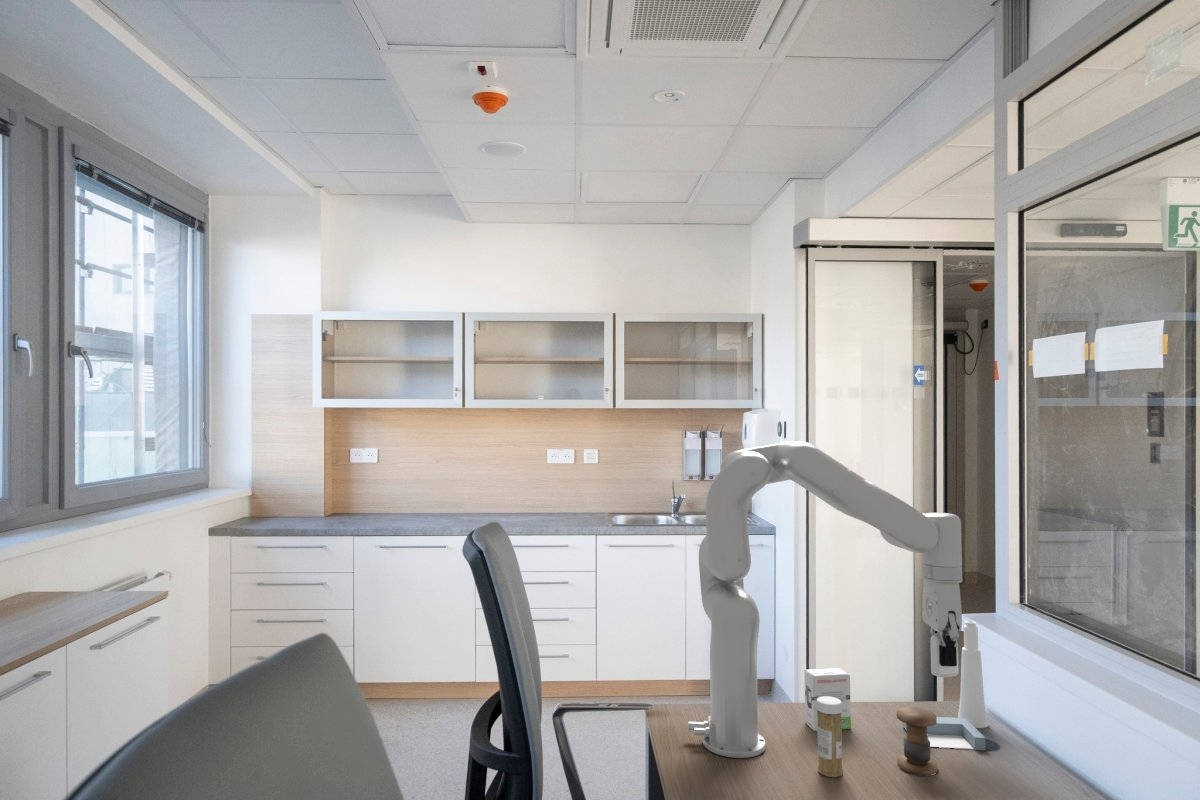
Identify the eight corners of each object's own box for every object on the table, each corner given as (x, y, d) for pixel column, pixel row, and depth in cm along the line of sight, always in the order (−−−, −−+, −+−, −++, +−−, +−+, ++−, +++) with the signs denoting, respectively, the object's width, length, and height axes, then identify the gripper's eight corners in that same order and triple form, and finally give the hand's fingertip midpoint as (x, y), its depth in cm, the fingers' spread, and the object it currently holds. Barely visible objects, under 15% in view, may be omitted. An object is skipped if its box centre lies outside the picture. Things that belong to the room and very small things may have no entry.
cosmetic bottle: (961, 727, 156) (959, 624, 157) (954, 716, 162) (952, 617, 163) (992, 729, 155) (989, 626, 156) (983, 718, 160) (981, 619, 161)
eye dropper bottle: (963, 678, 146) (960, 618, 147) (933, 677, 147) (931, 617, 148) (955, 672, 151) (953, 614, 152) (927, 671, 152) (925, 613, 153)
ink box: (840, 720, 160) (839, 666, 160) (851, 729, 155) (851, 673, 155) (804, 722, 158) (803, 668, 159) (814, 732, 154) (813, 675, 154)
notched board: (918, 747, 146) (917, 734, 146) (902, 727, 156) (902, 715, 156) (985, 750, 145) (985, 737, 145) (965, 729, 155) (965, 718, 155)
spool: (904, 774, 134) (903, 720, 135) (892, 758, 141) (892, 706, 142) (943, 776, 134) (942, 721, 134) (930, 759, 140) (929, 707, 141)
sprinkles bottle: (847, 776, 134) (846, 703, 134) (825, 779, 132) (824, 705, 133) (834, 765, 138) (833, 694, 139) (812, 768, 137) (811, 696, 138)
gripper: (910, 565, 159) (911, 649, 158) (937, 580, 142) (939, 674, 141) (945, 565, 158) (947, 650, 157) (977, 581, 141) (979, 676, 141)
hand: (943, 661), depth 149 cm, fingers closed on eye dropper bottle, 4 cm apart
